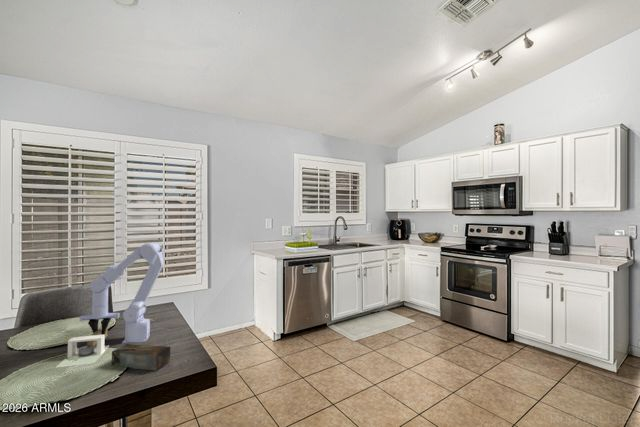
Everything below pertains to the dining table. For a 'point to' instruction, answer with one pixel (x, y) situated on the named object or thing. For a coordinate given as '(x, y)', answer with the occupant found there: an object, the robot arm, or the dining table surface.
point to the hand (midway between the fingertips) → (99, 335)
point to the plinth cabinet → (73, 341)
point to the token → (86, 350)
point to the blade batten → (98, 332)
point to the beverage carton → (141, 356)
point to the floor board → (82, 358)
